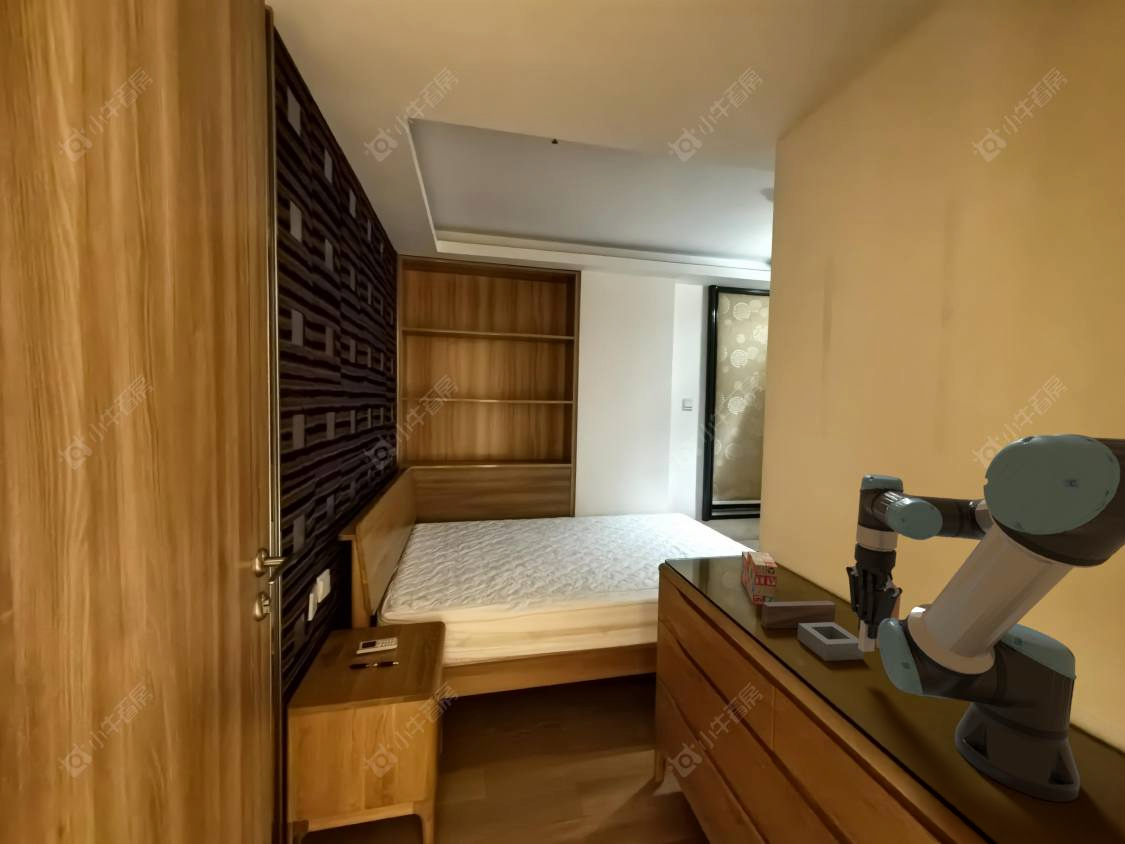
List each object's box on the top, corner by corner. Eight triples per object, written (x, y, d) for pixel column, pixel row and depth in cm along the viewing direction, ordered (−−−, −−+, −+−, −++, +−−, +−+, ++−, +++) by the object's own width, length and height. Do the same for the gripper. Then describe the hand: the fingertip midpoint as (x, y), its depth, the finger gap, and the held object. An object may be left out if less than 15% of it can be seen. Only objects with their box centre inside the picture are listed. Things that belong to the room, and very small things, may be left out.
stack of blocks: (740, 577, 159) (742, 542, 159) (759, 580, 158) (762, 544, 157) (752, 604, 138) (755, 563, 138) (775, 607, 137) (778, 566, 137)
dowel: (894, 654, 114) (899, 598, 113) (875, 648, 116) (879, 592, 115) (896, 648, 117) (901, 593, 116) (877, 642, 119) (882, 588, 118)
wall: (834, 626, 127) (835, 604, 126) (766, 628, 124) (768, 606, 123) (827, 621, 129) (829, 600, 129) (761, 624, 126) (762, 602, 126)
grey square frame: (863, 659, 111) (864, 642, 111) (825, 661, 109) (826, 644, 109) (832, 637, 121) (833, 622, 120) (797, 638, 119) (798, 623, 119)
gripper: (917, 556, 97) (906, 666, 98) (867, 536, 109) (857, 633, 111) (885, 556, 95) (875, 668, 97) (838, 536, 108) (829, 635, 110)
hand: (865, 649), depth 104 cm, fingers closed
